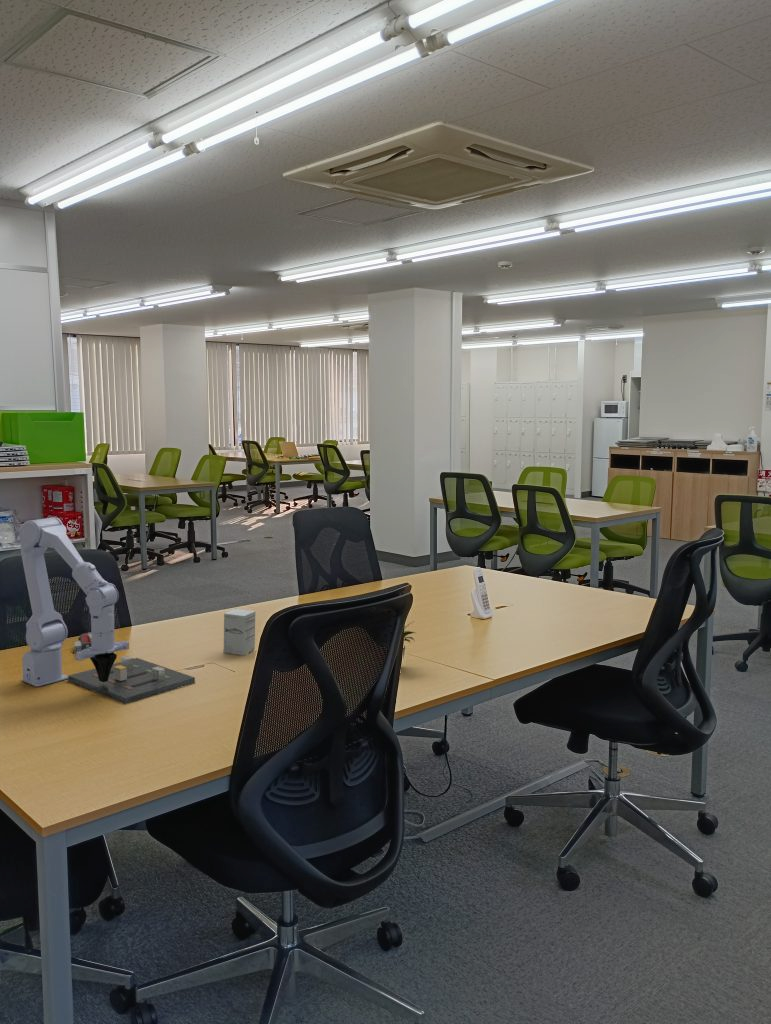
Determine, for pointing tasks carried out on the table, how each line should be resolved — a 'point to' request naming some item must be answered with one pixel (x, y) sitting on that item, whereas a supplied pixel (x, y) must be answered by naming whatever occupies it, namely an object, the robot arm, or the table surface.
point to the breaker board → (133, 680)
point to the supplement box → (239, 631)
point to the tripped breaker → (120, 673)
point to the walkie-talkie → (83, 642)
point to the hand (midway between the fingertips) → (103, 680)
